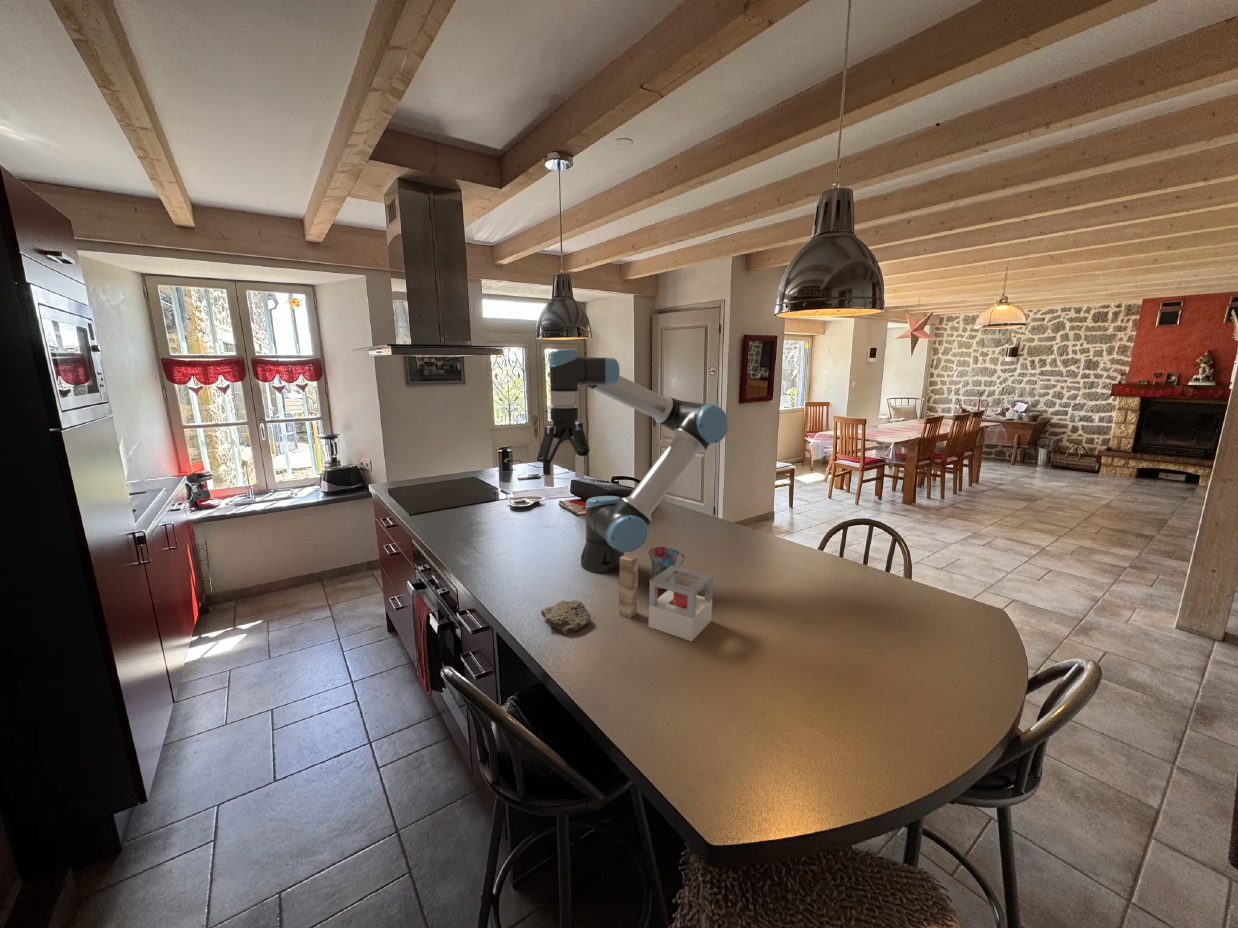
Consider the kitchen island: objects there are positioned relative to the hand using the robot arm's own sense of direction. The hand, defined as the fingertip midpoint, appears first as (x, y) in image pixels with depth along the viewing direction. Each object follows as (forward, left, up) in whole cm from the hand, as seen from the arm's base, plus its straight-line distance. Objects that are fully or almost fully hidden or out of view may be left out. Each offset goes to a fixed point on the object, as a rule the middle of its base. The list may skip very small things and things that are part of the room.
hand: (565, 481), depth 139 cm
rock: (+15, +12, -33) cm, 38 cm away
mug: (-20, +23, -33) cm, 45 cm away
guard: (-1, +37, -27) cm, 46 cm away
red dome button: (-1, +37, -31) cm, 48 cm away
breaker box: (-1, +37, -33) cm, 49 cm away
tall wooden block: (+2, +23, -33) cm, 40 cm away
